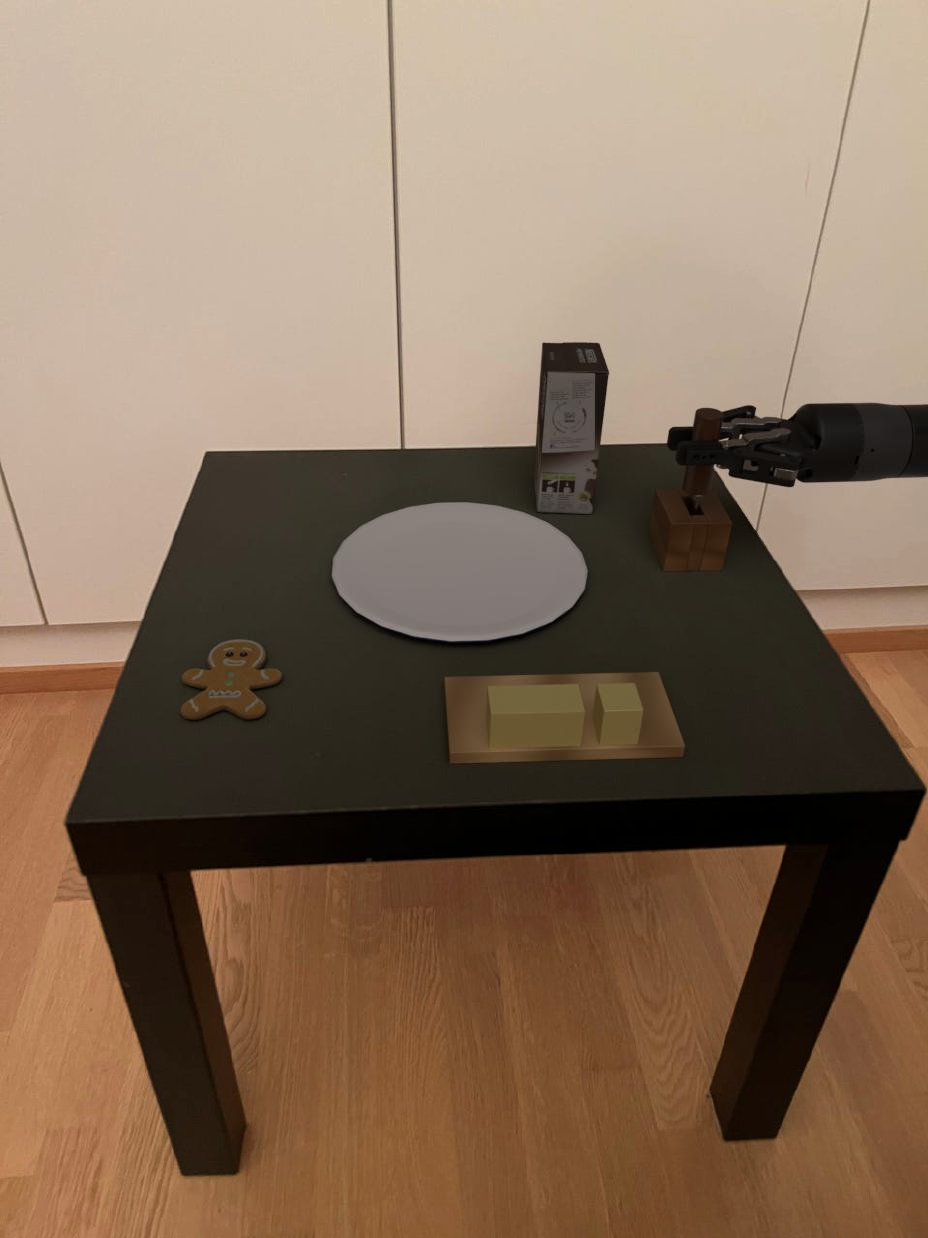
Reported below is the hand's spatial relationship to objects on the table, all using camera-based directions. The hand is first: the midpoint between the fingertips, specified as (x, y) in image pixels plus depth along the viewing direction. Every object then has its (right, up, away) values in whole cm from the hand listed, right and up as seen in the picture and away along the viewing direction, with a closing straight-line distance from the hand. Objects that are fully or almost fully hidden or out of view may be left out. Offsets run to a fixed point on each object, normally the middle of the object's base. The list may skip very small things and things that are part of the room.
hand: (673, 446), depth 90 cm
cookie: (-39, -22, -11) cm, 46 cm away
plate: (-20, -12, +3) cm, 24 cm away
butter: (-15, -25, -17) cm, 34 cm away
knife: (+3, -10, +7) cm, 12 cm away
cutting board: (-12, -25, -14) cm, 31 cm away
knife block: (+3, -10, +7) cm, 12 cm away
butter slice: (-8, -25, -17) cm, 31 cm away
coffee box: (-9, -2, +17) cm, 19 cm away
